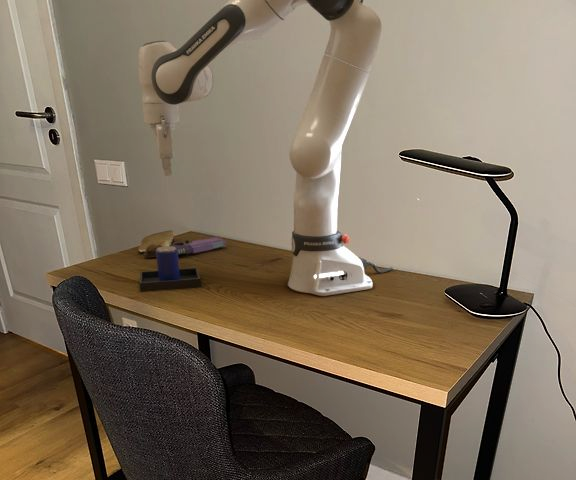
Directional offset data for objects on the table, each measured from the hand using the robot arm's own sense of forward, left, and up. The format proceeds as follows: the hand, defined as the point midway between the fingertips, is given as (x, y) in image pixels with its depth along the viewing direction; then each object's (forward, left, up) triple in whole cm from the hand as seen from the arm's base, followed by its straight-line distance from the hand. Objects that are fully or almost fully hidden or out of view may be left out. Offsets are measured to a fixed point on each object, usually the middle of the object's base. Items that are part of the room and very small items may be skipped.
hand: (167, 172), depth 153 cm
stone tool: (+5, -27, -27) cm, 39 cm away
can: (+2, +11, -26) cm, 29 cm away
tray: (+2, +11, -27) cm, 29 cm away
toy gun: (-6, -21, -27) cm, 35 cm away
